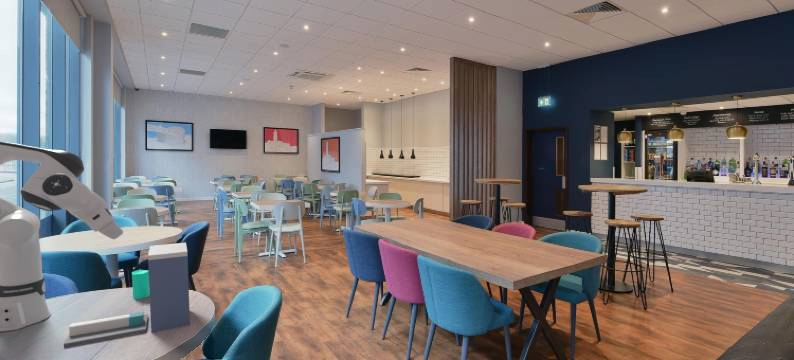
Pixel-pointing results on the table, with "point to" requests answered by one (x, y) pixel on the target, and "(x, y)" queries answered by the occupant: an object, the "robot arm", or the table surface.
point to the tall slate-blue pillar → (168, 286)
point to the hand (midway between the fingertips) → (111, 223)
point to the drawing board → (106, 334)
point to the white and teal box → (106, 323)
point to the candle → (140, 284)
